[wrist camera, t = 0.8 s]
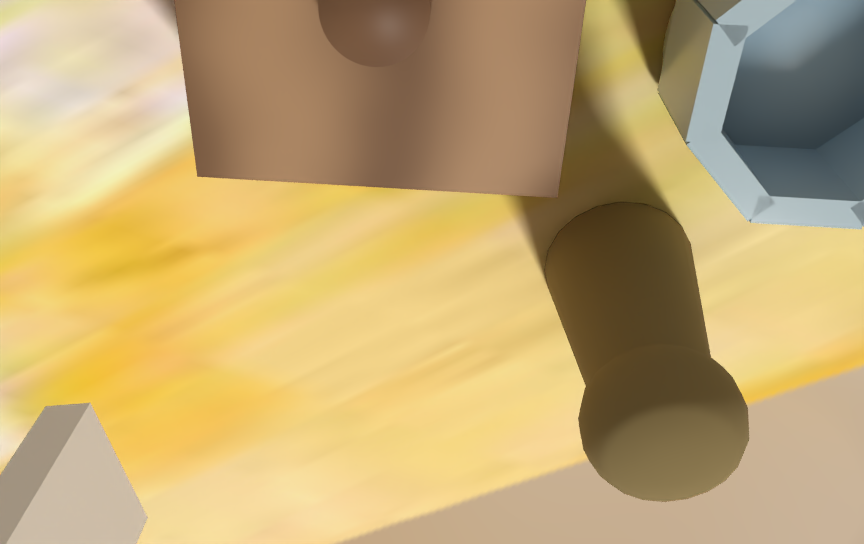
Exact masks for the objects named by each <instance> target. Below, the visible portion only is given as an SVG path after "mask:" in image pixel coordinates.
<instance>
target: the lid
mask: <svg viewBox="0 0 864 544" xmlns="http://www.w3.org/2000/svg"><path fill="white" fill-rule="evenodd" d="M174 3H175V11H176V18H177V26H178V33H179V41H180V48H181V56H182V63H183V71H184V79H185V86H186V94H187V101H188V109H189V116H190V124H191V131H192V139H193V146H194V154H195V162H196V169H197V177H213V178H230V179H247V180H264V181H281V182H298V183H315V184H332V185H349V186H366V187H383V188H400V189H417V190H433V191H450V192H467V193H484V194H501V195H518V196H535V197H552V198H557V197H558V190H559V183H560V176H561V169H562V163H563V156H564V149H565V142H566V135H567V128H568V121H569V114H570V108H571V101H572V94H573V87H574V80H575V73H576V66H577V60H578V53H579V46H580V39H581V32H582V25H583V18H584V11H585V5H586V0H174Z"/></svg>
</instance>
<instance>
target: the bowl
mask: <svg viewBox="0 0 864 544" xmlns="http://www.w3.org/2000/svg"><path fill="white" fill-rule="evenodd" d="M658 92H659V93H658V94H659V95H660V97H661V99H662V101H663V103H664V105H665V106H666V108H667V110H668V112H669V114H670V116H671V117H672V119H673V121H674V123H675V125H676V127H677V128H678V130H679V132H680V134H681V136H682V138H683V140H684V141H685V143H686V145H687V146H688V147H689V149H690V150H691V151H692V152H693V154H694V155H695V156H696V157H697V159H698V160H699V161H700V162H701V164H702V165H703V166H704V167H705V169H706V170H707V171H708V172H709V174H710V175H711V176H712V177H713V179H714V180H715V181H716V183H717V184H718V185H719V186H720V188H721V189H722V190H723V191H724V193H725V194H726V195H727V196H728V198H729V199H730V200H731V201H732V203H733V204H734V205H735V206H736V208H737V209H738V210H739V211H740V213H741V214H742V215H743V216H744V218H745V219H746V220H747V221H750V223H763V224H780V225H797V226H814V227H831V228H848V229H862V226H864V0H676V3H675V6H674V9H673V11H672V13H671V16H670V18H669V22H668V26H667V30H666V33H665V38H664V46H663V66H662V70H661V75H660V80H659V85H658Z"/></svg>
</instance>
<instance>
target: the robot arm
mask: <svg viewBox="0 0 864 544" xmlns="http://www.w3.org/2000/svg"><path fill="white" fill-rule="evenodd" d="M147 518H148V517H147V515H146V513H145V511H144V509H143V507H142V505H141V503H140V501H139V499H138V497H137V495H136V493H135V491H134V489H133V487H132V485H131V483H130V481H129V479H128V477H127V475H126V473H125V471H124V469H123V467H122V465H121V463H120V461H119V459H118V457H117V455H116V453H115V451H114V449H113V447H112V445H111V443H110V441H109V439H108V437H107V435H106V433H105V431H104V429H103V427H102V425H101V423H100V421H99V419H98V417H97V415H96V413H95V411H94V409H93V407H92V405H91V403H83V404H70V405H57V406H46V407H45V408H44V410H43V411H42V413H41V414H40V416H39V417H38V419H37V420H36V422H35V423H34V425H33V426H32V428H31V429H30V431H29V432H28V434H27V435H26V437H25V438H24V440H23V441H22V443H21V444H20V446H19V448H18V449H17V451H16V452H15V454H14V455H13V457H12V458H11V460H10V461H9V463H8V464H7V466H6V467H5V469H4V470H3V472H2V473H1V475H0V544H136V543H137V541H138V539H139V536H140V534H141V532H142V529H143V527H144V525H145V522H146V520H147Z"/></svg>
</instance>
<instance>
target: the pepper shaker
mask: <svg viewBox="0 0 864 544" xmlns="http://www.w3.org/2000/svg"><path fill="white" fill-rule="evenodd" d="M545 274H546V279H547V284H548V289H549V291H550V294H551V296H552V299H553V302H554V304H555V307H556V309H557V312H558V315H559V317H560V320H561V322H562V325H563V328H564V330H565V333H566V335H567V338H568V341H569V343H570V346H571V348H572V351H573V354H574V356H575V359H576V361H577V364H578V367H579V369H580V372H581V374H582V377H583V380H584V382H585V385H586V388H585V391H584V395H583V399H582V403H581V408H580V413H579V418H578V420H579V427H580V434H581V439H582V444H583V449H584V451H585V453H586V455H587V457H588V459H589V461H590V462H591V464H592V465H593V466H594V468H595V469H596V471H597V472H598V474H599V475H600V476H601V477H602V478H603V479H605V480H606V481H607V482H608V483H610V484H611V485H612V486H614V487H616V488H617V489H618V490H620V491H621V492H623V493H624V494H627V495H630V496H633V497H636V498H639V499H642V500H650V501H662V502H667V501H675V500H683V499H688V498H691V497H694V496H697V495H700V494H703V493H706V492H708V491H709V490H711V489H713V488H714V487H716V486H718V485H719V484H721V483H722V482H724V481H725V480H726V479H727V478H728V477H729V476H730V475H731V473H732V472H733V471H734V470H735V469H736V468H737V467H738V465H739V463H740V460H741V458H742V456H743V453H744V451H745V448H746V446H747V443H748V441H749V425H748V424H749V423H748V407H747V405H746V403H745V401H744V398H743V396H742V394H741V392H740V390H739V388H738V387H737V385H736V383H735V381H734V379H733V377H732V376H731V375H730V374H729V373H728V372H727V371H726V370H725V369H724V368H723V367H722V366H721V365H720V364H718V363H717V362H716V361H715V360H713V359H712V358H711V355H710V350H709V344H708V338H707V333H706V327H705V322H704V316H703V310H702V305H701V299H700V294H699V288H698V283H697V277H696V271H695V266H694V260H693V255H692V249H691V244H690V242H689V240H688V238H687V236H686V234H685V232H684V230H683V228H682V226H681V225H680V224H678V223H677V222H676V221H675V220H674V219H673V218H672V217H670V216H669V215H668V214H667V213H666V212H663V211H661V210H658V209H656V208H654V207H651V206H649V205H646V204H639V203H627V202H618V203H613V204H608V205H602V206H597V207H595V208H593V209H591V210H589V211H587V212H585V213H583V214H581V215H579V216H577V217H575V218H574V219H573V220H572V221H571V222H569V223H568V224H567V225H566V226H565V227H564V228H563V229H562V230H561V231H559V232H558V234H557V236H556V238H555V239H554V241H553V243H552V244H551V246H550V248H549V250H548V253H547V259H546V264H545Z"/></svg>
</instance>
